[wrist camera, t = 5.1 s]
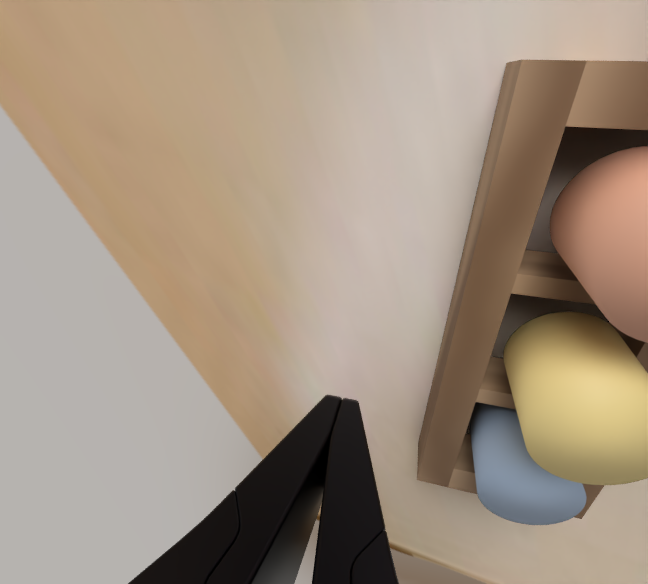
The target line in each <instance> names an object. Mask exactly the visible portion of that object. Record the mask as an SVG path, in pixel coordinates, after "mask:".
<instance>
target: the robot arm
mask: <svg viewBox="0 0 648 584" xmlns="http://www.w3.org/2000/svg"><path fill="white" fill-rule="evenodd" d="M321 503H322V506H321ZM320 506H321V514H320V522H319V530H318V540H317V547H316V555H315V563H314V571H313V580H312V584H399V583H398V579H397V576H396V571H395V567H394V563H393V559H392V555H391V551H390V546H389V542H388V537H387V533H386V531H385V524H384V519H383V514H382V510H381V505H380V500H379V496H378V491H377V486H376V482H375V477H374V472H373V468H372V463H371V458H370V453H369V449H368V444H367V439H366V435H365V430H364V425H363V421H362V416H361V411H360V407H359V403H358V401H357V400H352V399H347V398H343V399H342V398H340V397H337V396H332V395H326V396H325V397H324V398H323V399H322V400H321V401H320V402H319V403H318V404H317V405H316V406H315V407H314V408H313V409H312V410H311V411H310V412H309V413H308V414H307V415H306V416H305V417H304V418H303V419H302V420H301V421H300V422H299V423H298V424H297V425H296V426H295V427H294V428H293V429H292V430H291V431H290V432H289V434H288V435H287V436H286V437H285V438H284V439H283V440H282V441H281V442H280V443H279V444H278V445H277V446H276V447H275V448H274V449H273V450H272V451H271V452H270V453H269V454H268V455H267V456H266V457H265V458H264V459H263V460H262V461H261V462H260V463H259V464H258V465H257V466H256V468H254V469H253V470H252V471H251V472H250V473H249V475H247V477H246V478H245V479H244V480H243V481H242V482H241V483H240V484H239V485H238V486H237V487H236V488H235V491H234V490H233V491H232V492H231V493H230V494H229V495H228V496H227V497H226V498H225V499H224V500H223V501H222V502H221V503H220V504H219V505H218V506H217V507H216V508H215V509H214V510H213V511H212V512H211V513H210V514H209V515H208V516H207V517H206V518H204V520H202V521H201V522H200V523H199V524H198V525H197V526H196V527H194V528H193V529H192V530H191V531H190V532H189V533H188V534H186V535H185V536H184V537H183V538H182V539H181V540H180V541H178V542H177V543H176V544H175V545H174V546H172V547H171V548H170V549H169V550H168V551H166V552H165V553H164V554H163V555H162V556H160V557H159V558H158V559H157V560H156V561H155V562H153V563H152V564H151V565H150V566H148V567H147V568H146V569H145V570H144V571H143V572H141V573H140V574H139V575H138V576H137V577H135V578H134V579H133V580H132V581H131V582H129V583H128V584H294V583H295V580H296V577H297V574H298V571H299V568H300V565H301V562H302V559H303V556H304V553H305V550H306V547H307V544H308V541H309V538H310V535H311V532H312V529H313V526H314V524H315V521H316V518H317V515H318V512H319V509H320Z"/></svg>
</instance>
